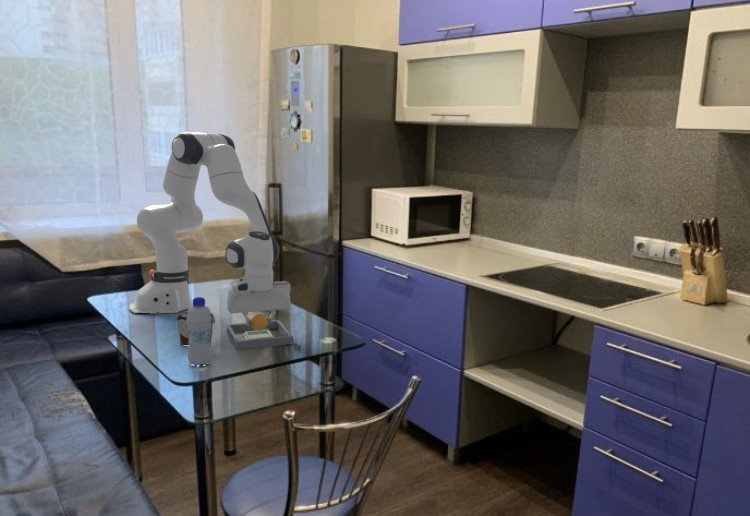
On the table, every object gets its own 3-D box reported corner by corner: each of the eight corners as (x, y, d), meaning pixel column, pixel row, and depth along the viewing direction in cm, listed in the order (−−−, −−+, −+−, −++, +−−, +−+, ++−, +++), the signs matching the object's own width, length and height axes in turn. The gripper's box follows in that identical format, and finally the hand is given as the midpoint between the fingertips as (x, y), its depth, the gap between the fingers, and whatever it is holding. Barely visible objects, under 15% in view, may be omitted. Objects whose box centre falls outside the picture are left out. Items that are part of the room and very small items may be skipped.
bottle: (202, 358, 173) (201, 293, 169) (216, 364, 169) (215, 297, 165) (182, 364, 168) (181, 297, 164) (196, 371, 164) (195, 302, 160)
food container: (221, 341, 188) (221, 311, 186) (214, 348, 182) (213, 317, 180) (184, 338, 189) (183, 309, 187) (176, 345, 183) (175, 314, 181)
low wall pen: (236, 349, 181) (236, 342, 180) (226, 331, 197) (226, 324, 197) (293, 344, 188) (293, 336, 188) (279, 327, 204) (279, 320, 204)
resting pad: (247, 343, 187) (247, 340, 187) (242, 334, 195) (242, 331, 195) (275, 340, 190) (275, 337, 190) (269, 332, 198) (269, 328, 198)
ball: (252, 333, 188) (252, 317, 187) (249, 328, 193) (249, 312, 192) (269, 332, 191) (269, 315, 190) (265, 326, 196) (265, 311, 195)
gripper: (288, 278, 196) (287, 318, 199) (225, 282, 188) (226, 323, 190) (293, 282, 190) (292, 323, 193) (229, 286, 182) (229, 329, 185)
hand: (259, 323), depth 192 cm, fingers closed on ball, 5 cm apart
